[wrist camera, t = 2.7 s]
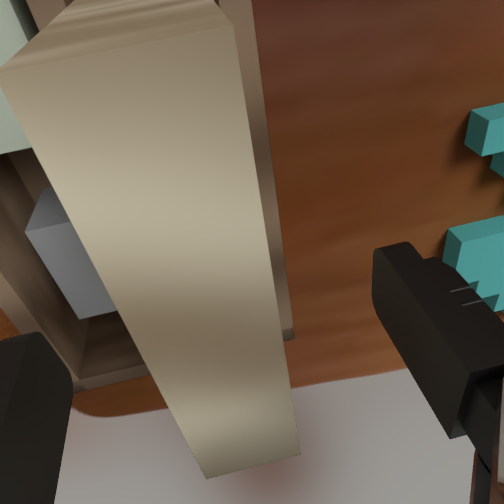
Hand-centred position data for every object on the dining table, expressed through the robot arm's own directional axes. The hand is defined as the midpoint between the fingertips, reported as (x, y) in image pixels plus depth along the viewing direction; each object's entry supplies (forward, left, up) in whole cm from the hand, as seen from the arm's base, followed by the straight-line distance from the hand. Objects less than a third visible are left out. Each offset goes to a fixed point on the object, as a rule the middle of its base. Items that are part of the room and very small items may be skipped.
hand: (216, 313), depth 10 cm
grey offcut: (+5, -6, -14) cm, 16 cm away
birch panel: (0, 0, -14) cm, 14 cm away
